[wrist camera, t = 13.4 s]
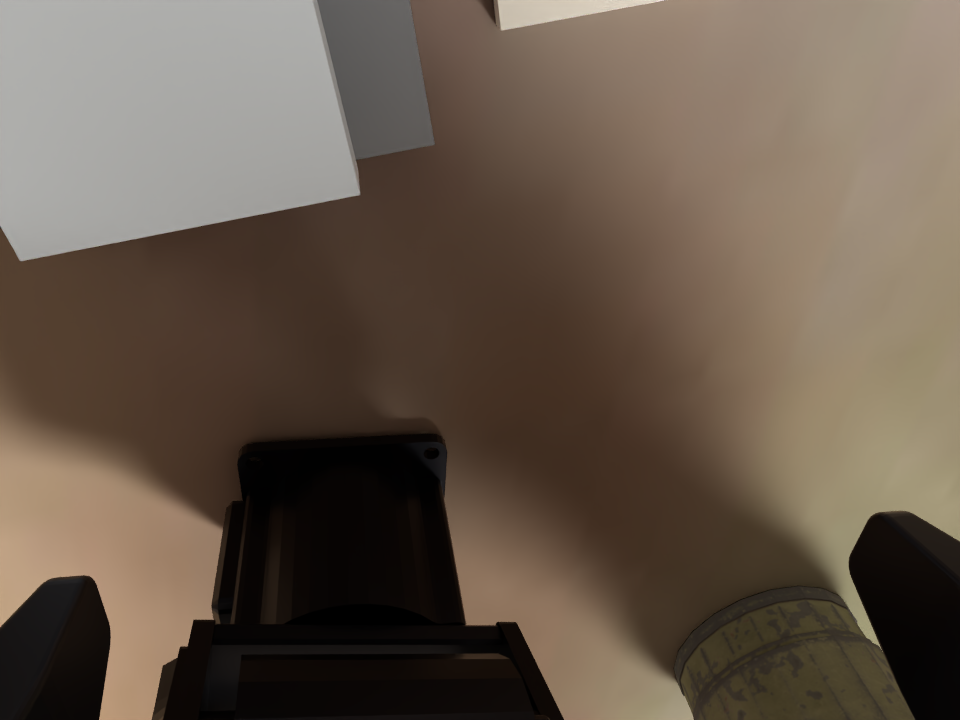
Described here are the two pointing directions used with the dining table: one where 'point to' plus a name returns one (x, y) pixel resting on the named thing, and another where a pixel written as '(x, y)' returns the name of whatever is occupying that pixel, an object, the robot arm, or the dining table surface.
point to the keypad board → (378, 74)
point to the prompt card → (552, 10)
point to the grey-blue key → (163, 118)
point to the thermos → (787, 662)
